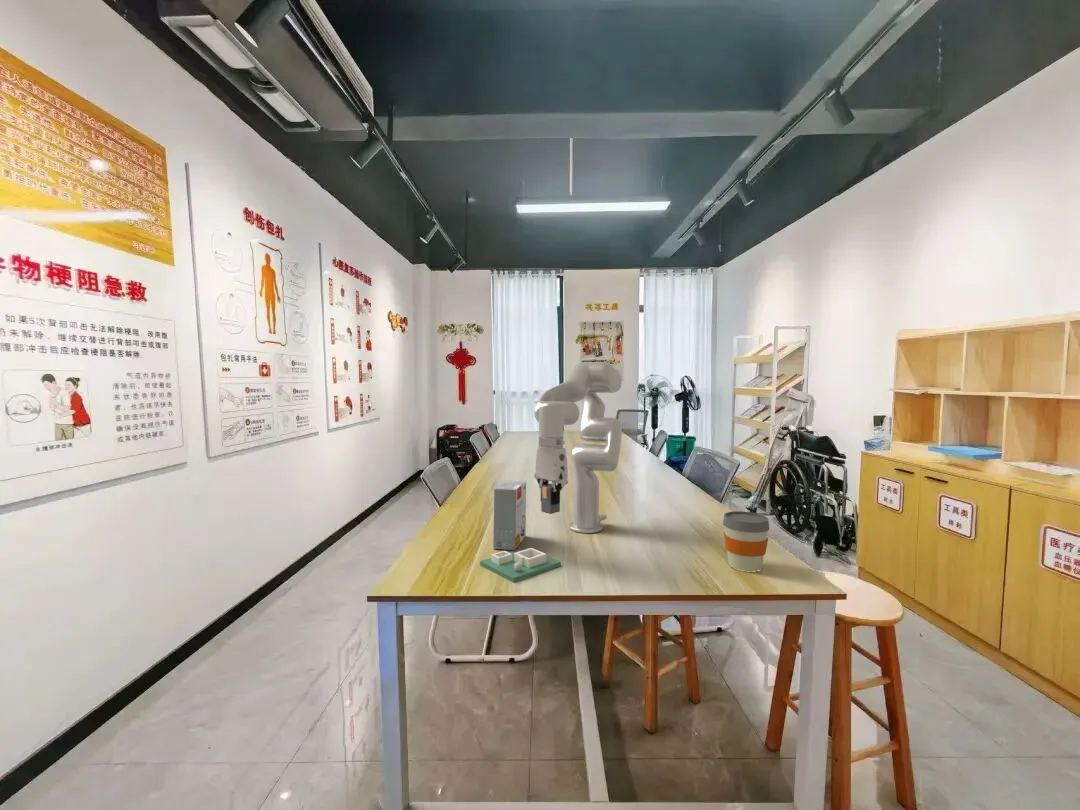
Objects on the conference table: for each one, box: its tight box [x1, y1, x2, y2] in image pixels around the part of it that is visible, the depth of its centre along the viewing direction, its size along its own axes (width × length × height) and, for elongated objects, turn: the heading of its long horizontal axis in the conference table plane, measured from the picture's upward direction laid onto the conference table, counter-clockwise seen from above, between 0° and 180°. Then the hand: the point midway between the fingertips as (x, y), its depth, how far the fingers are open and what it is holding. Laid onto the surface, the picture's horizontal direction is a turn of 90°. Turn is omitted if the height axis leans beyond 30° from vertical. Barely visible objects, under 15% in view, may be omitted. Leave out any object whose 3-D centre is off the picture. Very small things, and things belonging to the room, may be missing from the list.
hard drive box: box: [492, 479, 527, 551], centre depth 160 cm, size 16×8×20 cm, turn 168°
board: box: [479, 547, 562, 583], centre depth 140 cm, size 18×16×3 cm
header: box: [514, 547, 547, 568], centre depth 139 cm, size 7×7×2 cm
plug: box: [540, 483, 561, 515], centre depth 144 cm, size 4×4×8 cm
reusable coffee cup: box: [722, 510, 770, 571], centre depth 139 cm, size 13×13×15 cm
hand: (550, 501), depth 144 cm, fingers closed on plug, 4 cm apart
